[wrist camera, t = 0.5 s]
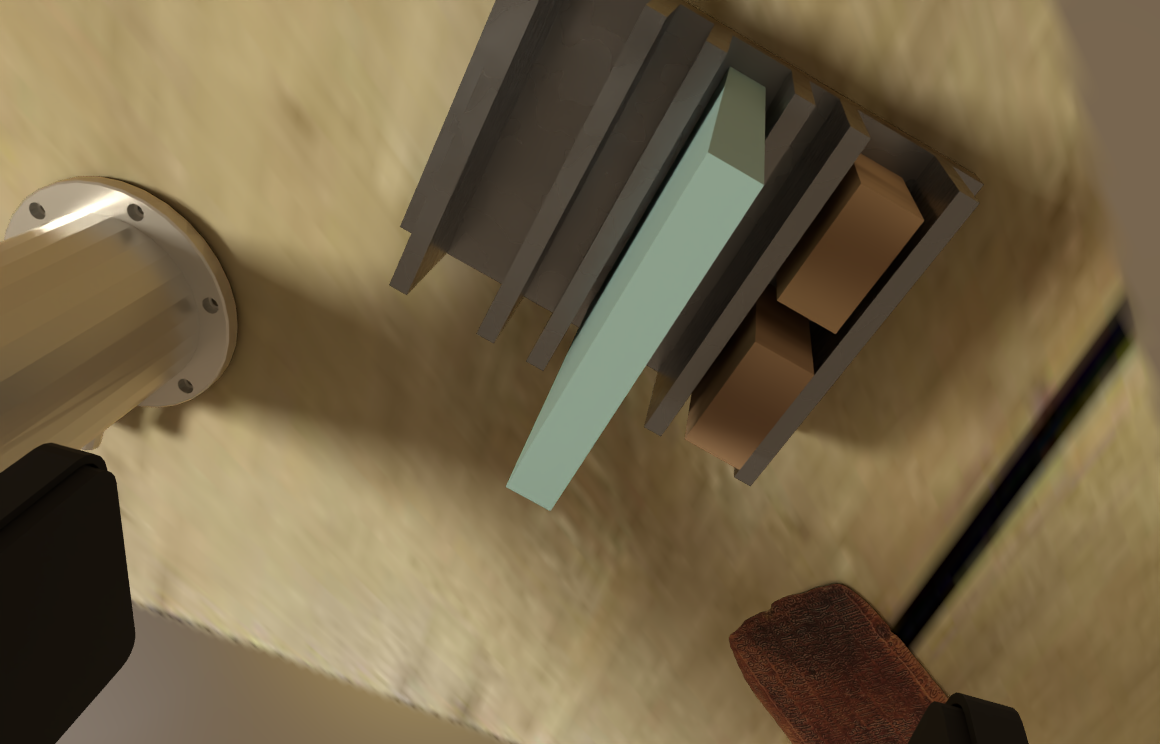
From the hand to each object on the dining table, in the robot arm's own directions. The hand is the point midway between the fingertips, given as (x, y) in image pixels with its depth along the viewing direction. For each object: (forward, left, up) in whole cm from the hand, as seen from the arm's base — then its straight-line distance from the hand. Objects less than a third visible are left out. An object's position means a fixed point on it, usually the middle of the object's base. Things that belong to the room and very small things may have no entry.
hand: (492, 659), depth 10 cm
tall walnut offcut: (-6, -7, -28) cm, 30 cm away
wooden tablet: (-25, -29, -31) cm, 49 cm away
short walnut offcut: (0, -7, -28) cm, 29 cm away
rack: (-3, -1, -30) cm, 30 cm away
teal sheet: (-3, -1, -28) cm, 29 cm away
